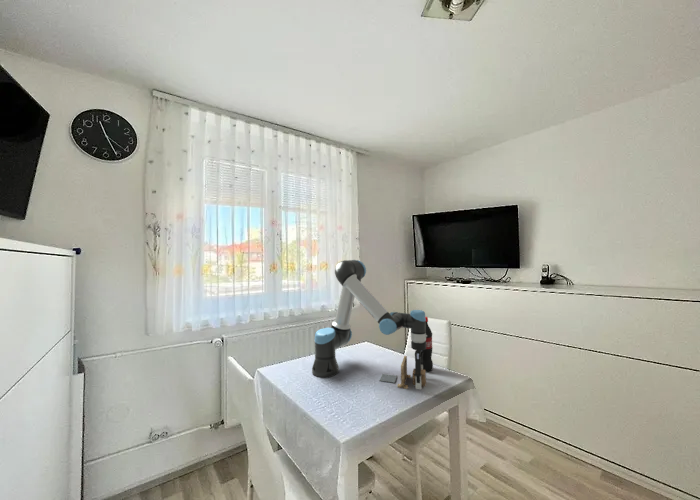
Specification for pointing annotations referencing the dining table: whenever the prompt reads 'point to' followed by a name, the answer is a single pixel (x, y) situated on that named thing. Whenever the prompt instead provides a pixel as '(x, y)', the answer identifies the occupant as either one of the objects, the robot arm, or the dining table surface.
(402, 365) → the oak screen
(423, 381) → the letter cube
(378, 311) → the robot arm
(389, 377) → the grey pad
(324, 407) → the dining table surface
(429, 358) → the cola bottle
